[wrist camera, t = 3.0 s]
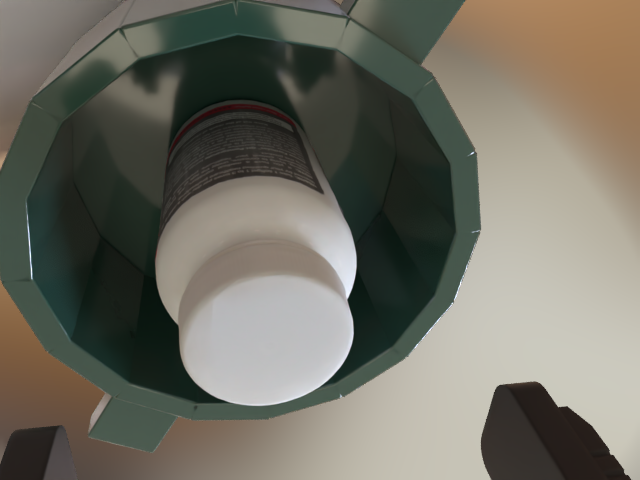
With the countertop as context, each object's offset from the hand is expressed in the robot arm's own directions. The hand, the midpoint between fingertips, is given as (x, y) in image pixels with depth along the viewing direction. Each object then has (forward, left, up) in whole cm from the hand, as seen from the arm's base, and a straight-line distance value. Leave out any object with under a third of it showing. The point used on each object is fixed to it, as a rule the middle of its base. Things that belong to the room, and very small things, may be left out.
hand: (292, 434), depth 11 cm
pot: (0, 0, -13) cm, 13 cm away
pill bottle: (0, 0, -13) cm, 13 cm away
